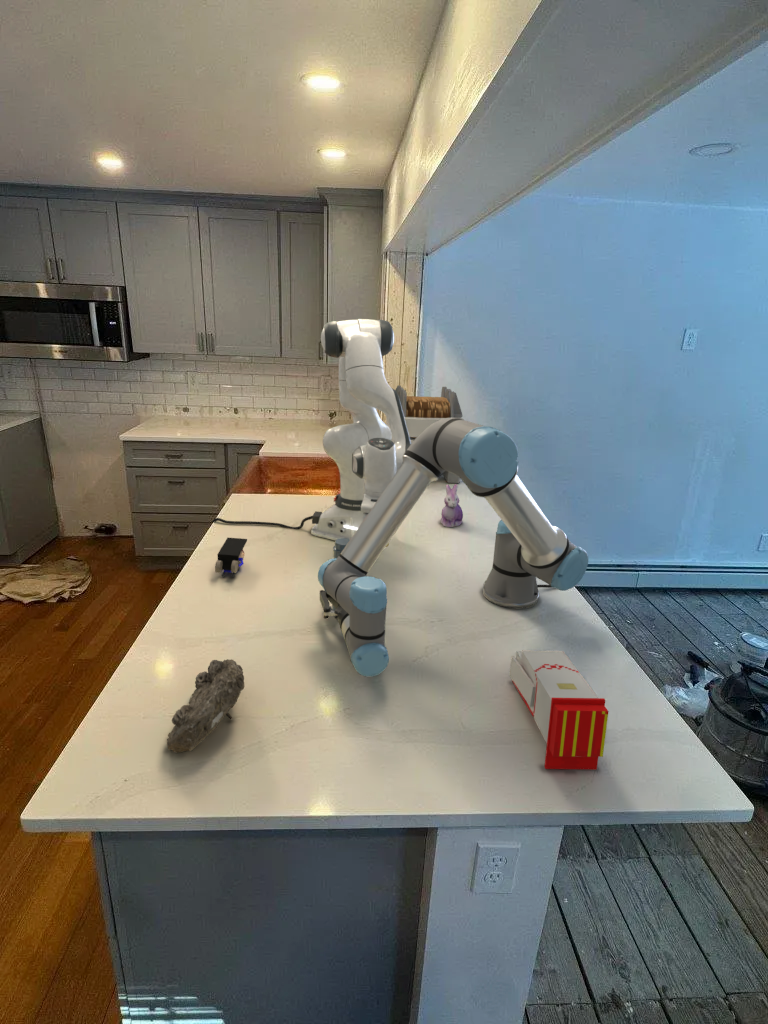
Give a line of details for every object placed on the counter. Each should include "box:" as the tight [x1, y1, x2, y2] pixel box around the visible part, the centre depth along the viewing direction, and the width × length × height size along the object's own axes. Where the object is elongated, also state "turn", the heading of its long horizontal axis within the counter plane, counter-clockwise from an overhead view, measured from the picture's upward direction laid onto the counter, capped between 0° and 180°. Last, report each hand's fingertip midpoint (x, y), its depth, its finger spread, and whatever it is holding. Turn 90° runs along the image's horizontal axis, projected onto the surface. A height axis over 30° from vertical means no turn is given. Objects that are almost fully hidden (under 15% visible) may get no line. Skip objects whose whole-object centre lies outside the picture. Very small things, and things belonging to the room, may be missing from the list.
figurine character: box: [214, 537, 248, 578], centre depth 166 cm, size 7×8×15 cm
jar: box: [331, 538, 350, 611], centre depth 144 cm, size 5×5×20 cm
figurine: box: [440, 483, 464, 528], centre depth 209 cm, size 9×10×15 cm
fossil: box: [166, 658, 245, 754], centre depth 106 cm, size 22×10×15 cm
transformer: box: [385, 384, 465, 484], centre depth 268 cm, size 34×33×41 cm
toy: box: [509, 649, 610, 771], centre depth 110 cm, size 12×13×30 cm
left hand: (377, 544), depth 160 cm, fingers closed on lid, 5 cm apart
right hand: (339, 579), depth 150 cm, fingers closed on jar, 5 cm apart
